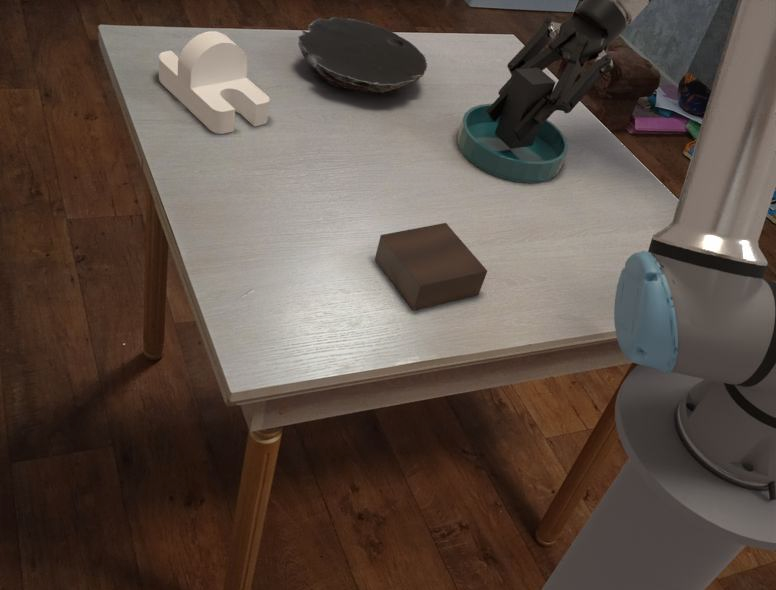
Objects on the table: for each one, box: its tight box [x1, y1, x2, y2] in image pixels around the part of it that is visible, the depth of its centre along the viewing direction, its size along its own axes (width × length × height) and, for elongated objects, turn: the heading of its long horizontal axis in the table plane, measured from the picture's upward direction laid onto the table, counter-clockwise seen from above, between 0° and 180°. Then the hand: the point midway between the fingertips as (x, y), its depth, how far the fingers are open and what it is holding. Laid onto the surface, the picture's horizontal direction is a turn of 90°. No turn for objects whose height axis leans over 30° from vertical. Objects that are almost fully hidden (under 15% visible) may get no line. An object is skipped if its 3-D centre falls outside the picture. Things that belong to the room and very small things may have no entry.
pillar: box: [495, 68, 557, 149], centre depth 127 cm, size 4×4×11 cm
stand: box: [374, 222, 488, 311], centre depth 105 cm, size 10×10×4 cm
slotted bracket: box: [158, 30, 271, 135], centre depth 122 cm, size 18×10×10 cm, turn 40°
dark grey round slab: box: [297, 16, 428, 93], centre depth 139 cm, size 22×22×5 cm
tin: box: [456, 103, 569, 184], centre depth 132 cm, size 17×17×4 cm
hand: (503, 125), depth 127 cm, fingers closed on pillar, 5 cm apart
